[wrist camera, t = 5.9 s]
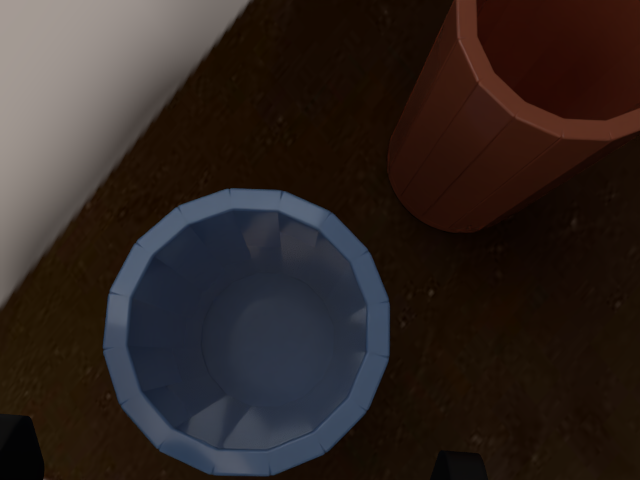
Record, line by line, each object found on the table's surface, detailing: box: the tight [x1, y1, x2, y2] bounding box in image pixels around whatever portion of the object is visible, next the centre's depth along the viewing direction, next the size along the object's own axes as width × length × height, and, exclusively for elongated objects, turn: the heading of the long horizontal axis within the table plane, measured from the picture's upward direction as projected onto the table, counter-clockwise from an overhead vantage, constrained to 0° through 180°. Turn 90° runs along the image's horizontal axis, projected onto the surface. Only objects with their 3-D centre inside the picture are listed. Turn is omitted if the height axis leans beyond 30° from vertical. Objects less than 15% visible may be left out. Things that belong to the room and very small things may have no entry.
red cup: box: [387, 0, 640, 233], centre depth 18 cm, size 6×6×10 cm
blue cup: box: [103, 188, 390, 477], centre depth 16 cm, size 6×6×10 cm
